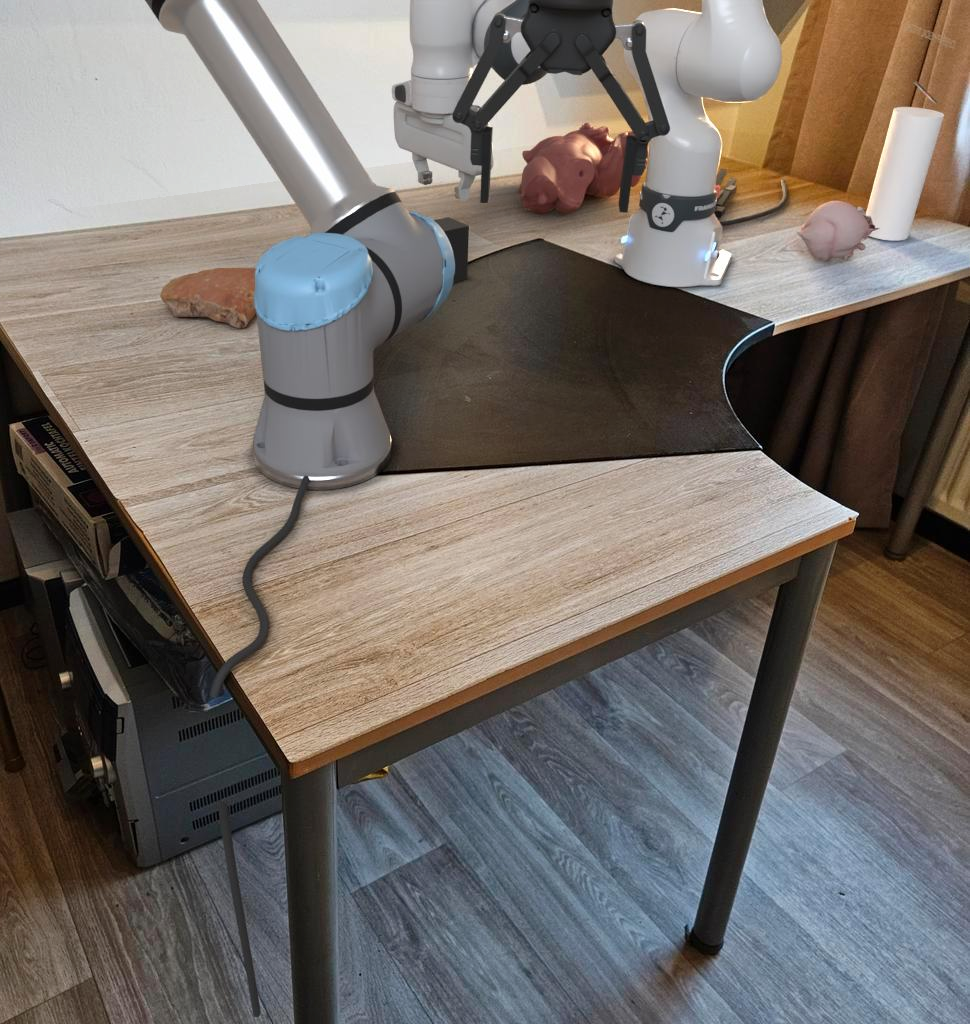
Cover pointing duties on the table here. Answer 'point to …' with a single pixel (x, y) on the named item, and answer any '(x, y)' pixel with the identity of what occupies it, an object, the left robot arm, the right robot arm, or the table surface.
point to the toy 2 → (836, 230)
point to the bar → (457, 245)
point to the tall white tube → (903, 167)
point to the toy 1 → (724, 192)
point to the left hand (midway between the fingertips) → (553, 204)
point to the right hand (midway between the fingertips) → (443, 191)
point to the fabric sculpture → (573, 169)
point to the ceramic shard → (213, 295)
